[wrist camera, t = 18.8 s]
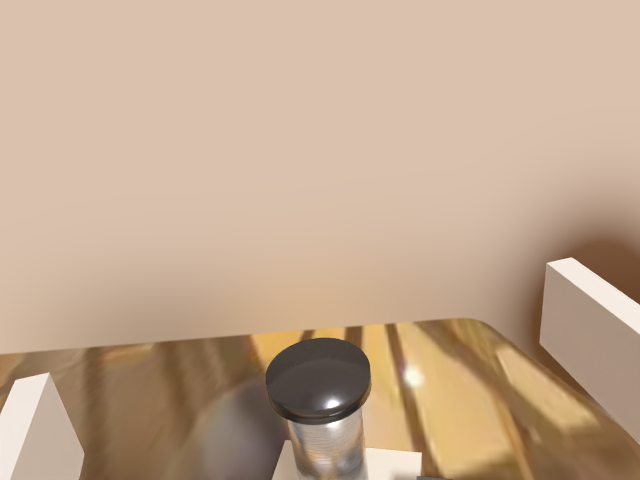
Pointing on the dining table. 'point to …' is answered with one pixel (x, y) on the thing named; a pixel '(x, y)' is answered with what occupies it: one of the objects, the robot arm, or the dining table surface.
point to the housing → (429, 478)
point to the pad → (383, 465)
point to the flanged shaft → (323, 406)
